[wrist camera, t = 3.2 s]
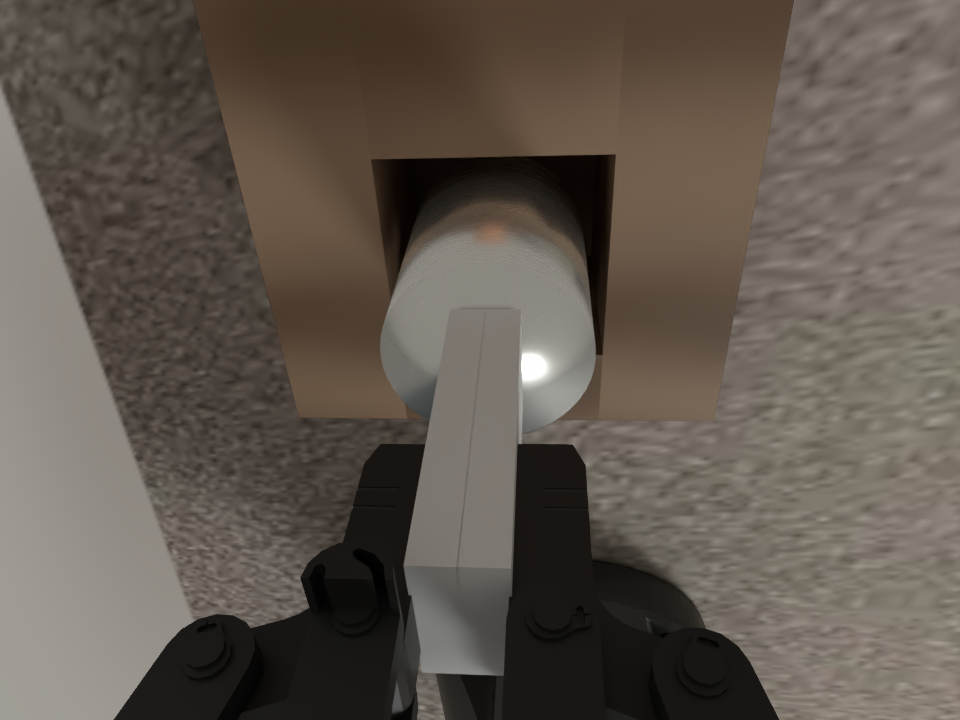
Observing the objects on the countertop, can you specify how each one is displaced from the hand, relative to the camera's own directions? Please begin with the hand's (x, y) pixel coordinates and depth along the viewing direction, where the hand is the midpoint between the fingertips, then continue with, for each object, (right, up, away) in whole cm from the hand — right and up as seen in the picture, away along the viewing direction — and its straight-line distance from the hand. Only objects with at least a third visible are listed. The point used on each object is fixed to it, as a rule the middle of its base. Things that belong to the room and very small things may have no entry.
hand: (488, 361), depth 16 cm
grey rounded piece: (0, +4, +5) cm, 6 cm away
